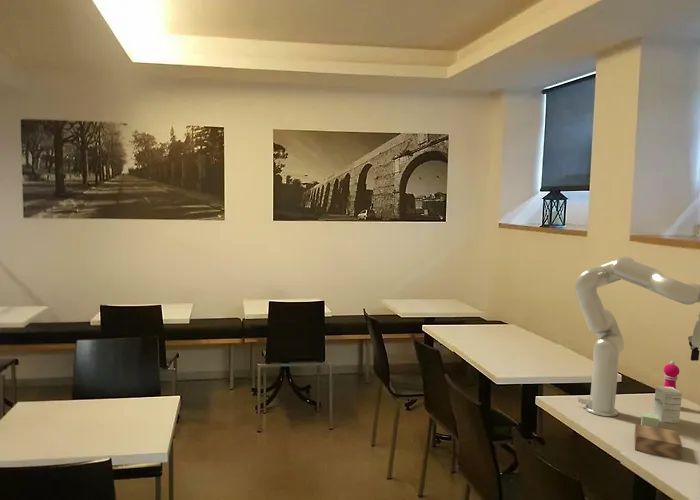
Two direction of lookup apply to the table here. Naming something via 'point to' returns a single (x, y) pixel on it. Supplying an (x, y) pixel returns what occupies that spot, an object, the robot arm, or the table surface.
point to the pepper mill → (671, 375)
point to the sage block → (649, 419)
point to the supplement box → (667, 404)
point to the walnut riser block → (657, 441)
